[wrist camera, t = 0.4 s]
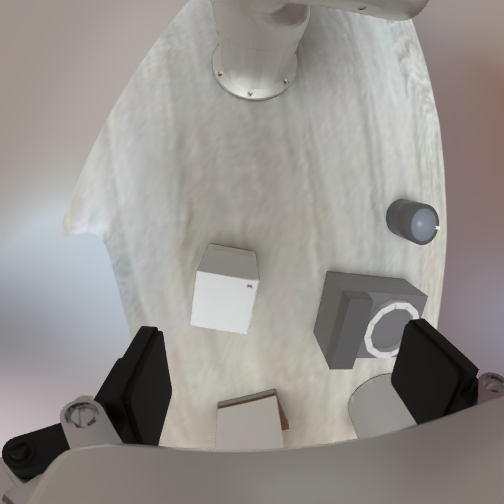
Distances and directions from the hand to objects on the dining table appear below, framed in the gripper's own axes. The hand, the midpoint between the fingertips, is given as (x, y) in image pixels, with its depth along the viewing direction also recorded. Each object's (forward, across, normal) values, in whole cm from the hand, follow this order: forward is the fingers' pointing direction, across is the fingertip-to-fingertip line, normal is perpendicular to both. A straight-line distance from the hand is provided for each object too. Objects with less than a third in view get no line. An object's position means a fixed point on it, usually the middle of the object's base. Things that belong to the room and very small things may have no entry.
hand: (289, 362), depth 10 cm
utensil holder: (+35, -27, +37) cm, 58 cm away
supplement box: (+35, +4, +8) cm, 36 cm away
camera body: (+35, -19, +14) cm, 42 cm away
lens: (+35, -24, -1) cm, 43 cm away
